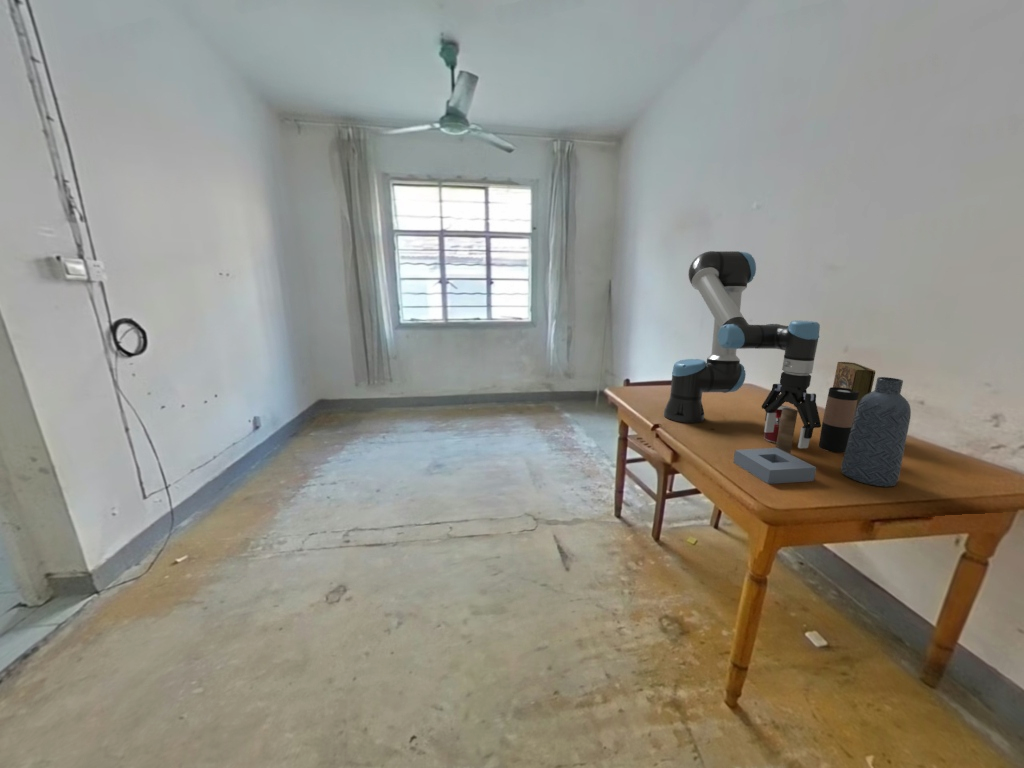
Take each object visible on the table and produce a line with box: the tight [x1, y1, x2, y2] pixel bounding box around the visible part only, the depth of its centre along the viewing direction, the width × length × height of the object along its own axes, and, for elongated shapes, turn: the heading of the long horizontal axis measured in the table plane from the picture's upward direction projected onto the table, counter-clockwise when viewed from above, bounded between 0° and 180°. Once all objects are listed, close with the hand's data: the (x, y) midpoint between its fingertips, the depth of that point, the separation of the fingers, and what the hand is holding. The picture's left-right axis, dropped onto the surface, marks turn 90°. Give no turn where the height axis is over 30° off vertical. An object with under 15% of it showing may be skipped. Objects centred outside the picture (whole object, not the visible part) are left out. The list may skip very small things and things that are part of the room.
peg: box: [775, 407, 799, 455], centre depth 128 cm, size 4×4×15 cm
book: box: [832, 361, 876, 411], centre depth 147 cm, size 16×6×25 cm, turn 161°
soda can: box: [763, 404, 794, 444], centre depth 141 cm, size 7×7×12 cm
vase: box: [840, 376, 912, 488], centre depth 112 cm, size 12×12×28 cm
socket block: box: [733, 447, 817, 485], centre depth 118 cm, size 14×14×4 cm
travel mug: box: [818, 386, 859, 454], centre depth 133 cm, size 8×8×20 cm
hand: (784, 439), depth 128 cm, fingers open, 13 cm apart
